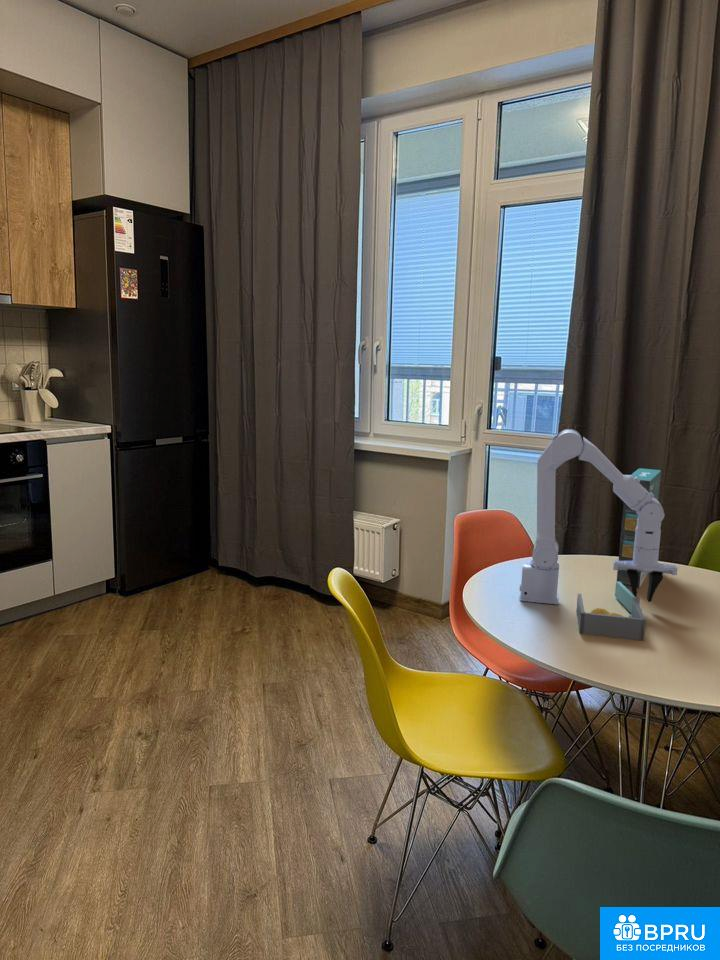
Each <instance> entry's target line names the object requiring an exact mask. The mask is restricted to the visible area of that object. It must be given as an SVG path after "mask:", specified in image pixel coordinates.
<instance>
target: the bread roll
mask: <svg viewBox="0 0 720 960" xmlns="http://www.w3.org/2000/svg"><path fill="white" fill-rule="evenodd" d="M589 613H595V614H604V615H614V616H623V617H625V616H624V615H622V614H620V613H617V612H609V611H608V610H607V609H604V608H601V607H599V608H597V607H596V608H594V609H593V610H591V611H590V612H589Z"/></svg>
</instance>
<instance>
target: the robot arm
mask: <svg viewBox="0 0 720 960" xmlns="http://www.w3.org/2000/svg"><path fill="white" fill-rule="evenodd" d="M576 457H578V460H579V461H584V462H589V463H590V464H592V465H593V466H594V467H595V468H596V469H597V470H598V471H599V472H600V473H601V474H602V475H603V476H604V477H605V478H607V479H608V480H609V481H610V482H611V483H612V484H613V485H612V492H613V493H614V494H615V495H616V496H617V497H618V498H620V500H621V501H622V502H623V503H624V502H625V503H626V504H627V505H628V506H629V507H630V508H631V509H632V510H635V511H636V513H637V515H638V518H637V526H636V530H635V541H634V552H633V561H618V560H612V562H613V563H612V570H614V571H618V570H626V572H627V575H628V577H629V580H630V584H631V587H630V588H631V593H632V594H633V595H634V596H635V597H638V588H637V584H638V578H639V576H638V572H637V571H640V572H649V573H648V587H647V593H646V595H647V596H646V599H647V602H649V603H650V602H652V600H653V597H654V594H655V592H656V590H657V588H658V586H659V585H660V583H661V582H662V581H663V579H664V575H665V574H667V575H672V576H677V575H678V567H677V565H673V564H666V563H660V562H659V555H660V554H659V553H660V543H661V533H662V530H661V526H662V521H663V520H664V518H665V511H664V508H663V506H662V504H661V503H660V501H659V499H658V500H657V498H655V497H654V494H653V493H652V492H651V493H649V492H648V491H647V490H646V489H645V488H644V487H643V486H642V485H641V484H640V483H639V482H640V480H639V479H638V478H637V477H635V478H634V477H633V476H632V475H631V474H623V473H622V472H621V471H620V470H619V469H618V468H617V467H616V466H615V465H614V464H613V462H611V461H610V460H609V458H608V457H607V456H605V454H604V453H603V452H602V451H601V450H600V449H599V448H598V447H597V446H596V445H594V444H593V443H592V442H591V441H590V440H589V439H587V438H585V436H583V437H582V435H581V434H580V432H578V431H577V430H575V429H571V428H568V429H563V430H562V431H560V432H558V433H557V434H556V435H555V436H554V437H553V438H551V441H550V442H549V443H548V444H547V446H546V447H545V449H543V451H542V453H541V455H540V456H539V458H538V459H537V462H536V464H537V467H536V468H537V469H536V470H537V473H536V476H537V477H536V480H537V481H536V537H535V538H536V539H535V541H534V545H533V551H532V553H531V555H532V559H531V560H530V563H522V567H521V568H522V570H521V584H519V589H518V591H519V592H520V598H519V599H520V600H519V601H522V602H529V603H539V604H540V603H541V604H546V605H547V604H548V605H549V604H550V605H559V604H560V602H559V593H558V589H559V587H558V586H559V572H560V563H559V562H558V561H559V553H558V552H559V550H560V546H559V544H558V541H557V539H556V477H557V476H556V470H557V469H558V468H559V467H560V466H562V465H563V464H564V463H565V462H566V461H567V462H568V461H569V460H571V459H572V460H573V459H574V458H576ZM663 574H664V575H663Z"/></svg>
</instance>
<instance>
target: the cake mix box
mask: <svg viewBox="0 0 720 960" xmlns="http://www.w3.org/2000/svg"><path fill="white" fill-rule="evenodd" d="M630 475H632V476H633V477H634V478H635V477H637V478H638V479H639V480H640V482H639V483H640V484H641V485H642V486H643V487H644V488H645V489H646V490H647V491H648V492H649V493H651V492H652V493H653V494H654V497H655V498H657V500H658V501H659V496H660V495H659V494H660V485H661V476H662V470H660V469H651V468H637V470H635V471H634V472H632V474H630ZM622 509H623V510H622V519H621V532H620V539H619V540H620V541H619V549H618V550H619V553H618V560H617V561H633V552H634V541H635V530H636V526H637V518H638V515H637V513H636V511H635V510H632V509H631V508H630V507H629V506H628V505H627V504H626V503H625V502H624V501H623V508H622ZM616 571H617V572H616V581H615V583H616V582H621V583H622V584H623V585H624V586H625V587H626V588H631V584H630V580H629V577H628V575H627V572H626V570H616ZM637 572H638V576H639V578H638V584H637V590H638V589H640V588H641V586H642V584H643V582H644V581H645V580H646V578H647V576H649V572H640V571H637Z"/></svg>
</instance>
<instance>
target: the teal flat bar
mask: <svg viewBox="0 0 720 960" xmlns="http://www.w3.org/2000/svg"><path fill="white" fill-rule="evenodd" d="M614 597H615V598H616V599H617V600H618V601H619V602H620V604H622V605H623V606H624V607H625V609H626V610H628V612H630V614H631V615H632V610H633V600H634V599H636V600H637V601H638V603H639V605H640V604H641V603H640V601H641V597H639V596H637V597H635V596H634V595H633V594H632V591H631V590H630V589H629V588H628V587H627V586H624V585H623V584H622V583H621V582H616V581H615V589H614Z"/></svg>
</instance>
